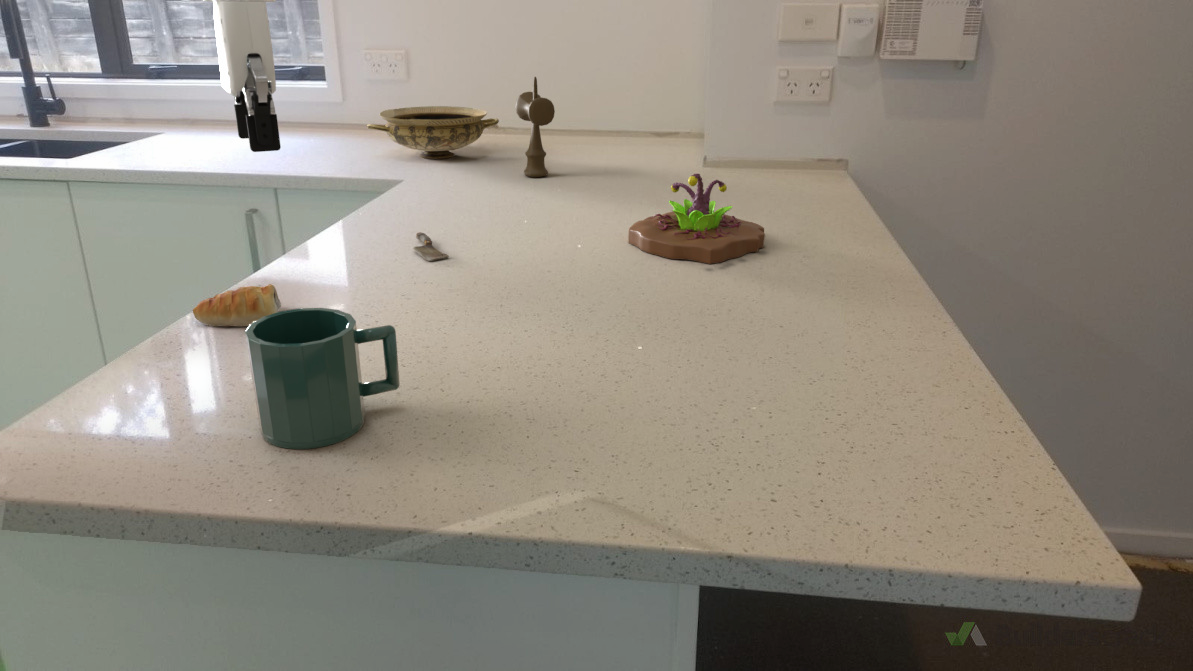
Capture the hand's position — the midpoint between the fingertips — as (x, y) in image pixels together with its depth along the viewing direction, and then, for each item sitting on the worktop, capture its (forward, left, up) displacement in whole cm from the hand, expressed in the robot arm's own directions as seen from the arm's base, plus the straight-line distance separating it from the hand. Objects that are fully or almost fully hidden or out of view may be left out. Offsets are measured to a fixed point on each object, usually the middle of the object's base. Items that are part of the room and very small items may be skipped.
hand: (259, 143), depth 99 cm
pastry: (+2, -9, -19) cm, 21 cm away
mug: (+25, -27, -19) cm, 42 cm away
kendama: (+7, +79, -19) cm, 82 cm away
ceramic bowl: (-22, +92, -19) cm, 97 cm away
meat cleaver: (+10, +23, -19) cm, 31 cm away
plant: (+47, +40, -19) cm, 64 cm away
